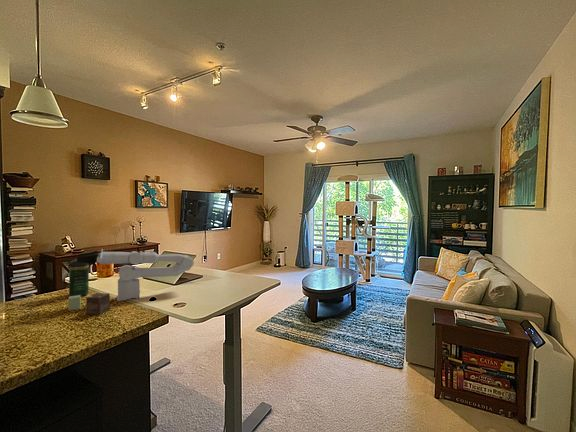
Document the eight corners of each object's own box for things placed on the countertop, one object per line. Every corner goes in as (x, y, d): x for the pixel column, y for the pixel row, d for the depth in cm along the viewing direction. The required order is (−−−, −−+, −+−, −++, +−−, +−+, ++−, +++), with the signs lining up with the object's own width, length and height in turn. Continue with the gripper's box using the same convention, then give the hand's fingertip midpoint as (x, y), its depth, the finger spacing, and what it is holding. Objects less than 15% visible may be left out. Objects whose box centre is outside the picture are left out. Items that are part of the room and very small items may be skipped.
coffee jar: (88, 296, 137) (88, 259, 137) (68, 298, 133) (68, 261, 132) (89, 291, 145) (89, 256, 145) (70, 293, 140) (70, 258, 140)
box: (110, 309, 119) (110, 293, 119) (99, 315, 113) (99, 297, 113) (97, 309, 119) (97, 292, 119) (86, 314, 113) (85, 297, 113)
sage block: (80, 306, 123) (80, 295, 123) (79, 308, 120) (79, 297, 120) (69, 307, 121) (69, 296, 121) (68, 310, 118) (68, 299, 118)
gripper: (113, 247, 137) (80, 247, 130) (114, 251, 125) (77, 251, 118) (112, 261, 137) (78, 261, 130) (112, 266, 125) (75, 267, 118)
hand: (77, 257), depth 124 cm, fingers open, 7 cm apart
